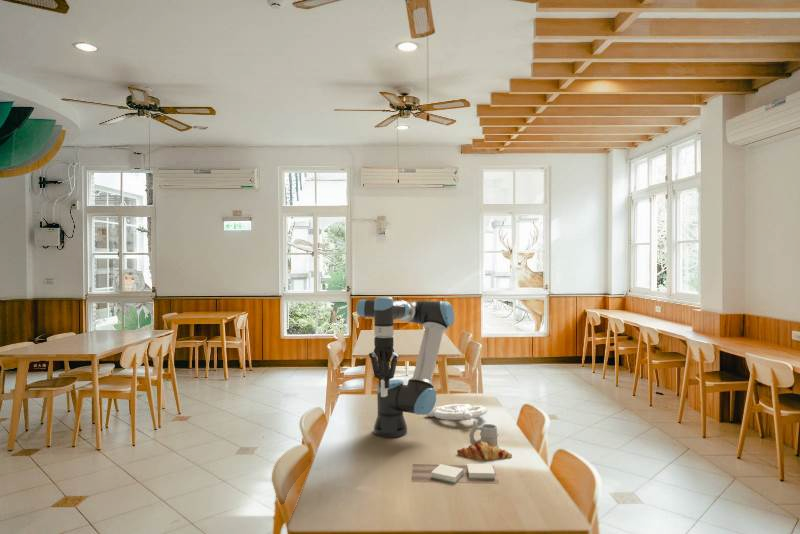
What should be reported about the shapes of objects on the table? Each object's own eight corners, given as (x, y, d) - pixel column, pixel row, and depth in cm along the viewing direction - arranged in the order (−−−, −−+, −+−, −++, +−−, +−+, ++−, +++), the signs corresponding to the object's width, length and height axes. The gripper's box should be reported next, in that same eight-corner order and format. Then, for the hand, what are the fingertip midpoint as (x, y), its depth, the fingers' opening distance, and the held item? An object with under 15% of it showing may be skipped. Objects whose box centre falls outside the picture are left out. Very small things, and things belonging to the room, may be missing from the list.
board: (412, 467, 185) (412, 464, 185) (493, 468, 184) (493, 465, 184) (411, 485, 170) (411, 481, 170) (499, 487, 169) (499, 483, 169)
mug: (499, 454, 198) (499, 424, 198) (469, 453, 199) (469, 423, 199) (497, 447, 205) (497, 418, 205) (469, 446, 207) (469, 417, 207)
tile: (440, 464, 180) (463, 468, 176) (440, 469, 180) (463, 474, 176) (431, 472, 173) (455, 477, 169) (431, 477, 173) (455, 483, 169)
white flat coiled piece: (421, 421, 245) (420, 407, 245) (451, 412, 262) (450, 400, 262) (466, 426, 225) (465, 411, 226) (495, 416, 242) (494, 403, 243)
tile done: (467, 469, 181) (467, 463, 181) (491, 469, 180) (491, 464, 180) (468, 478, 173) (468, 472, 173) (494, 479, 172) (494, 473, 172)
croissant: (510, 466, 195) (510, 444, 199) (513, 463, 186) (513, 441, 190) (456, 462, 197) (457, 442, 201) (457, 459, 188) (457, 438, 192)
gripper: (364, 336, 194) (365, 396, 194) (393, 338, 188) (394, 400, 188) (374, 334, 201) (375, 392, 201) (403, 336, 195) (403, 395, 195)
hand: (384, 396), depth 195 cm, fingers closed
